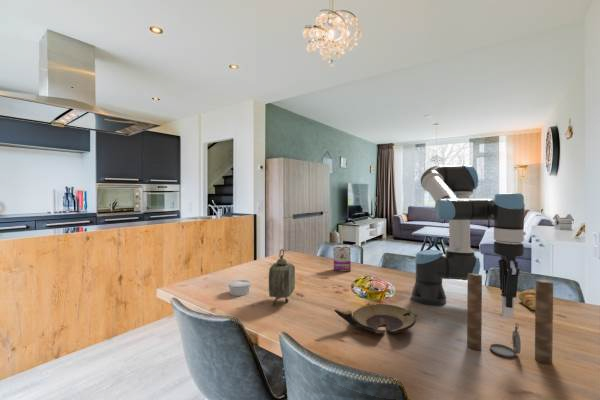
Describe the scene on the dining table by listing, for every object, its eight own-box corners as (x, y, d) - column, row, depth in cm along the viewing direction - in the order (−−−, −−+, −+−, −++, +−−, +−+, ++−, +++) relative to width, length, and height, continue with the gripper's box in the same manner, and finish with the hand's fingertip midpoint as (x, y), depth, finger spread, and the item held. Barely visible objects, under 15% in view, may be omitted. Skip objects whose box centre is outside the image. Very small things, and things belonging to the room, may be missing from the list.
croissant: (543, 322, 117) (555, 307, 114) (516, 306, 122) (527, 292, 119) (538, 305, 134) (549, 292, 131) (515, 291, 139) (525, 279, 136)
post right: (537, 362, 83) (538, 282, 82) (532, 355, 86) (533, 279, 86) (554, 365, 81) (555, 284, 81) (549, 358, 85) (550, 280, 84)
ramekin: (253, 289, 148) (253, 279, 148) (247, 297, 137) (247, 286, 137) (233, 289, 149) (233, 279, 149) (225, 296, 138) (225, 286, 138)
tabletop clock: (277, 295, 138) (277, 246, 138) (295, 297, 136) (295, 246, 136) (268, 307, 124) (268, 252, 124) (288, 308, 122) (288, 252, 122)
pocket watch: (484, 347, 91) (485, 317, 91) (508, 345, 92) (509, 316, 92) (505, 362, 83) (505, 329, 83) (531, 360, 84) (531, 327, 84)
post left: (468, 348, 90) (468, 275, 90) (466, 342, 94) (466, 272, 93) (482, 351, 89) (483, 277, 88) (480, 345, 92) (480, 274, 92)
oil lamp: (422, 347, 91) (423, 324, 91) (332, 335, 99) (332, 314, 99) (413, 318, 113) (413, 299, 113) (340, 310, 121) (340, 293, 121)
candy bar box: (350, 269, 187) (350, 245, 186) (350, 271, 182) (350, 246, 182) (333, 268, 189) (333, 245, 188) (333, 270, 184) (333, 246, 183)
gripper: (530, 246, 79) (529, 327, 80) (516, 239, 91) (515, 310, 92) (499, 244, 82) (498, 322, 83) (489, 238, 94) (489, 306, 95)
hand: (507, 316), depth 87 cm, fingers closed
